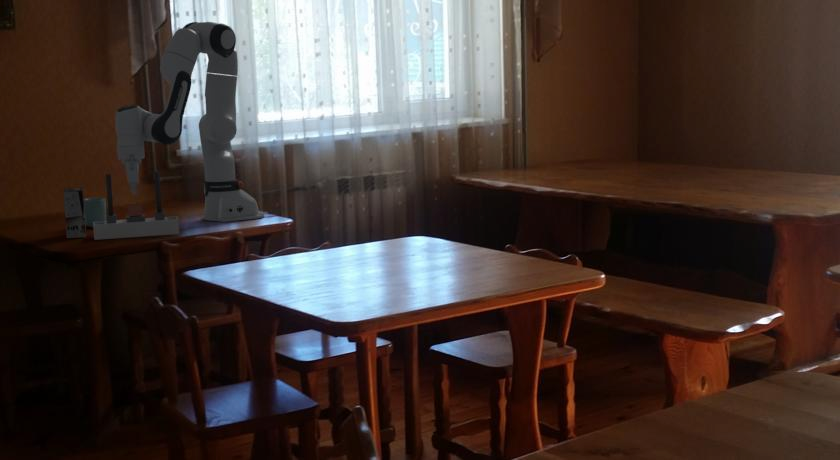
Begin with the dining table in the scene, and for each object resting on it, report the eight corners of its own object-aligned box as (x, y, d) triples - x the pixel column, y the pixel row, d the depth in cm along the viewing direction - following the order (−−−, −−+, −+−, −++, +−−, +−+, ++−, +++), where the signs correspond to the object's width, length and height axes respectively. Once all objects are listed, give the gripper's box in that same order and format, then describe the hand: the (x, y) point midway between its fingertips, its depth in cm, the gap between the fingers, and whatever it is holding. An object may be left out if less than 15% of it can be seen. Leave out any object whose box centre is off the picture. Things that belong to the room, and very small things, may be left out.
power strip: (178, 230, 368) (177, 211, 367) (179, 233, 361) (178, 214, 360) (94, 236, 361) (93, 217, 360) (94, 239, 354) (92, 220, 353)
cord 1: (116, 221, 360) (112, 173, 357) (116, 222, 357) (112, 174, 354) (107, 221, 360) (103, 173, 357) (107, 223, 356) (103, 175, 353)
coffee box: (86, 237, 359) (82, 190, 356) (66, 238, 357) (62, 191, 354) (86, 232, 368) (83, 186, 365) (67, 234, 366) (63, 188, 363)
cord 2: (164, 217, 365) (161, 170, 362) (164, 219, 361) (161, 172, 358) (155, 218, 364) (152, 171, 361) (155, 220, 360) (152, 172, 357)
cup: (103, 228, 375) (101, 200, 374) (81, 228, 376) (79, 201, 374) (110, 224, 383) (108, 197, 381) (88, 224, 383) (86, 197, 381)
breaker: (142, 215, 361) (141, 205, 361) (142, 214, 360) (141, 205, 360) (129, 215, 360) (128, 206, 360) (129, 215, 359) (128, 205, 359)
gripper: (141, 156, 347) (144, 197, 350) (140, 150, 366) (143, 189, 369) (121, 157, 345) (124, 199, 348) (121, 151, 365) (124, 190, 367)
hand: (134, 194), depth 359 cm, fingers closed
